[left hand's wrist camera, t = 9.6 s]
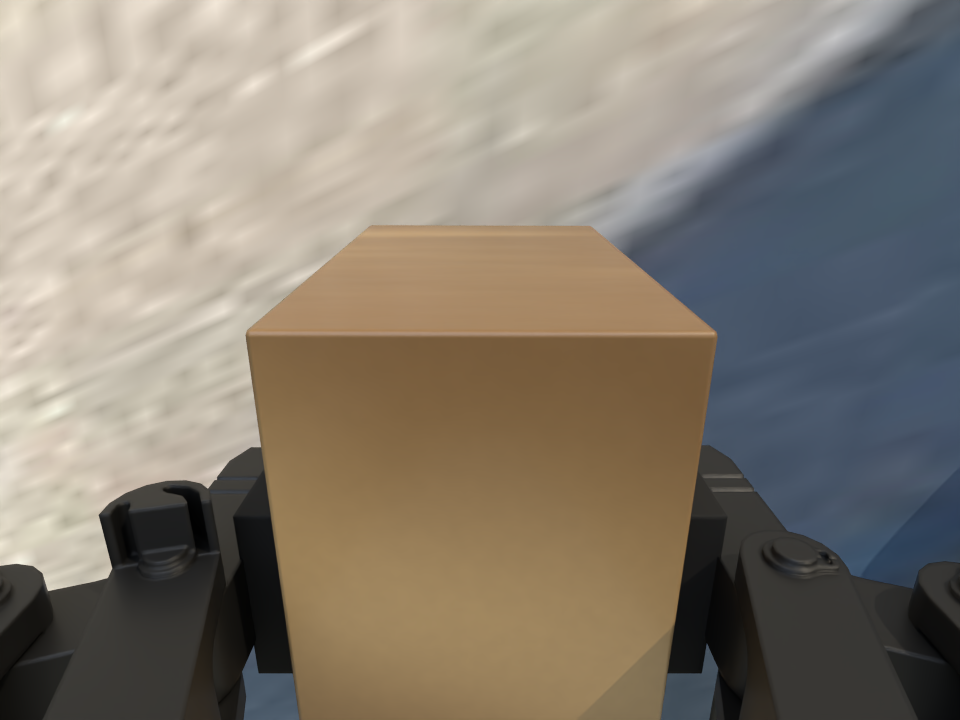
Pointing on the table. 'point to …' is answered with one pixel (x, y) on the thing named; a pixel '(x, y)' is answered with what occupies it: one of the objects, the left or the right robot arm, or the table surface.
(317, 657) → the beam
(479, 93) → the table surface
